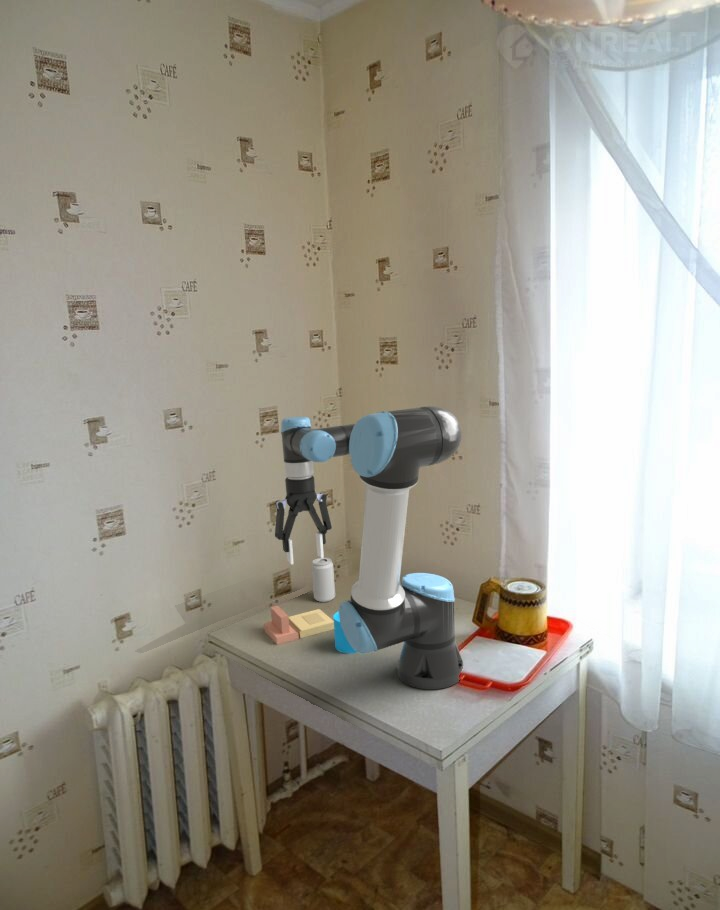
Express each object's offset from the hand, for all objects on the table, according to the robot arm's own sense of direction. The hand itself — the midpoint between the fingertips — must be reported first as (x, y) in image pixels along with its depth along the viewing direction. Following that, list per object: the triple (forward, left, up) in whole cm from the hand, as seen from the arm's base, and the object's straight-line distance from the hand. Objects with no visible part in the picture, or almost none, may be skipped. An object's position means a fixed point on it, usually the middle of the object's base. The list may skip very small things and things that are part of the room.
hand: (305, 559), depth 179 cm
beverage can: (+15, -11, -19) cm, 27 cm away
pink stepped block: (0, +9, -19) cm, 21 cm away
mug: (-14, -5, -20) cm, 25 cm away
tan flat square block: (0, 0, -19) cm, 19 cm away
